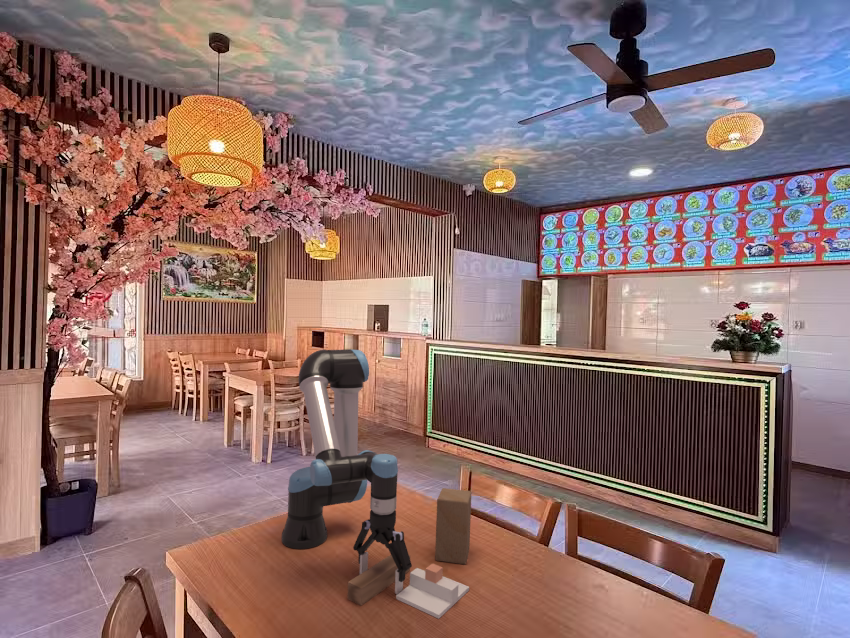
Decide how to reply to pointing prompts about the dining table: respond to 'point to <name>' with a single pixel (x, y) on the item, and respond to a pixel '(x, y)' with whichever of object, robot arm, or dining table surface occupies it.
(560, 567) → the dining table surface
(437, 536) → the wooden block
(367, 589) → the beam
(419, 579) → the stand
